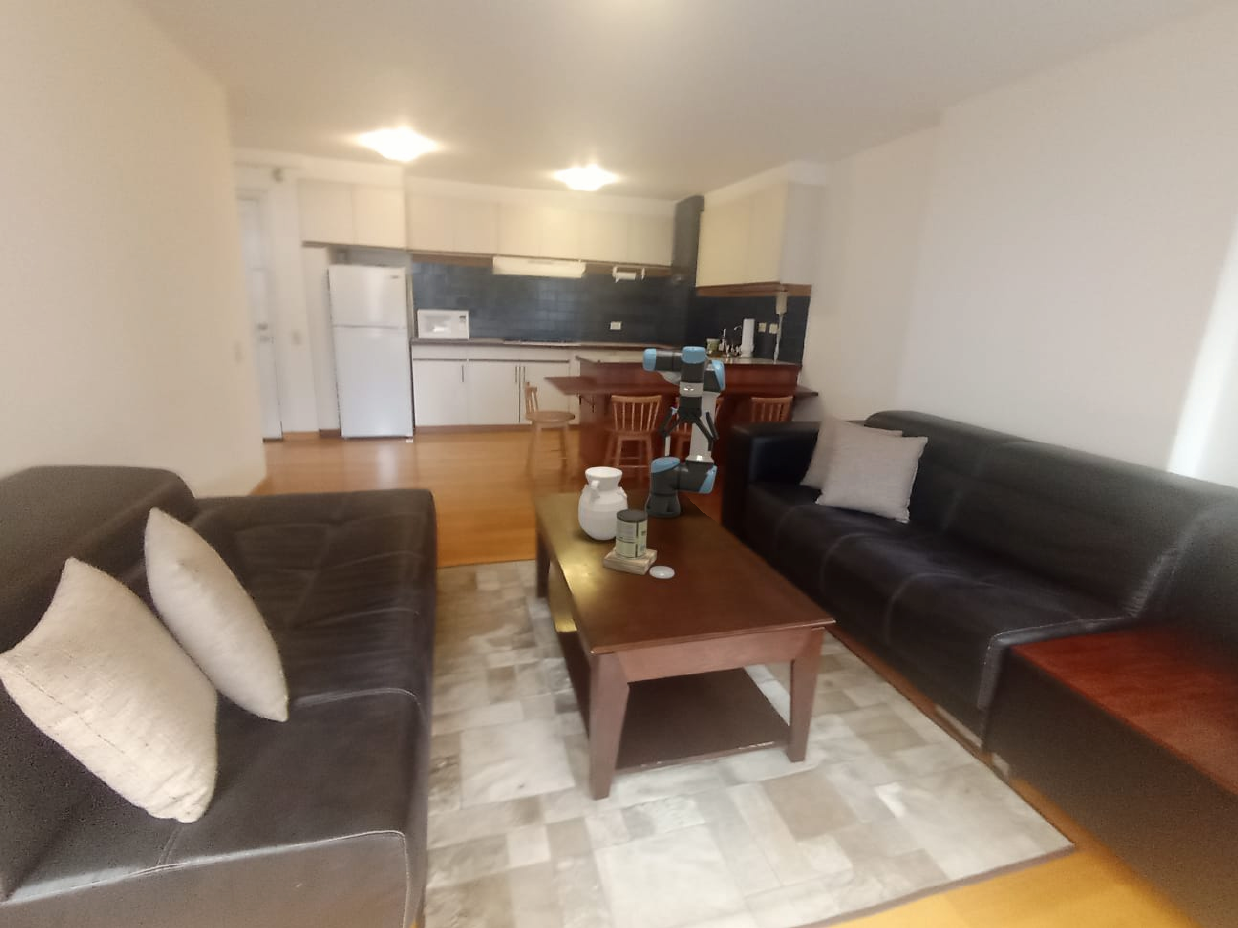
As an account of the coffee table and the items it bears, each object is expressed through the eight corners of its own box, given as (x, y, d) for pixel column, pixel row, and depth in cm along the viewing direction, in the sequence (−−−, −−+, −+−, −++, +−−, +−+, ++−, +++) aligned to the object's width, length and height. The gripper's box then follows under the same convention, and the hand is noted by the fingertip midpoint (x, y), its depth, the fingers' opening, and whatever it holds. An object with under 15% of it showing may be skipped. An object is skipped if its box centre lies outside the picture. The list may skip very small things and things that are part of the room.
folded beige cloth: (618, 551, 203) (618, 542, 202) (656, 558, 198) (657, 549, 197) (603, 566, 190) (603, 557, 189) (643, 575, 185) (643, 565, 185)
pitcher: (592, 523, 228) (593, 462, 222) (634, 532, 221) (637, 469, 214) (567, 538, 212) (568, 473, 206) (612, 549, 204) (615, 481, 198)
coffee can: (618, 545, 199) (619, 507, 195) (647, 549, 197) (650, 510, 194) (612, 557, 189) (613, 517, 186) (643, 561, 188) (645, 520, 184)
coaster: (653, 565, 192) (654, 564, 192) (677, 570, 190) (677, 568, 189) (646, 575, 185) (646, 573, 185) (670, 580, 182) (670, 578, 182)
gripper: (651, 393, 190) (647, 455, 195) (726, 399, 181) (720, 465, 187) (657, 390, 196) (654, 451, 202) (731, 397, 188) (725, 460, 193)
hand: (686, 457), depth 194 cm, fingers open, 13 cm apart
